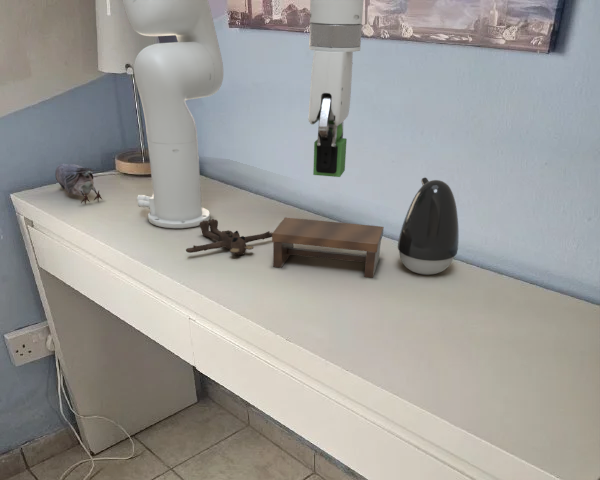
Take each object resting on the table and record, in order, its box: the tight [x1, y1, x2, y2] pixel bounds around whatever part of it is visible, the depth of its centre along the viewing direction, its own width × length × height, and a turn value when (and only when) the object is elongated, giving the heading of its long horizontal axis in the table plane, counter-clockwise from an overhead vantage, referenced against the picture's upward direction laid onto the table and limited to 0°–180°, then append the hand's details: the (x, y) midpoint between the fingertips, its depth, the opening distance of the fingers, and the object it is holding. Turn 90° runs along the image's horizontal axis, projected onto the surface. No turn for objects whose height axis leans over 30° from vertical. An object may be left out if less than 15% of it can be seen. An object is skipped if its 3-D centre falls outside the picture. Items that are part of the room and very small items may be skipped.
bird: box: [55, 163, 103, 205], centre depth 137 cm, size 5×16×7 cm, turn 43°
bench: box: [271, 216, 384, 279], centre depth 108 cm, size 18×9×6 cm, turn 77°
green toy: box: [312, 120, 347, 178], centre depth 98 cm, size 4×4×8 cm
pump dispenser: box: [397, 177, 460, 276], centre depth 104 cm, size 10×10×15 cm
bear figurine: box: [185, 218, 273, 256], centre depth 114 cm, size 18×4×14 cm
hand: (329, 167), depth 100 cm, fingers closed on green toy, 4 cm apart
